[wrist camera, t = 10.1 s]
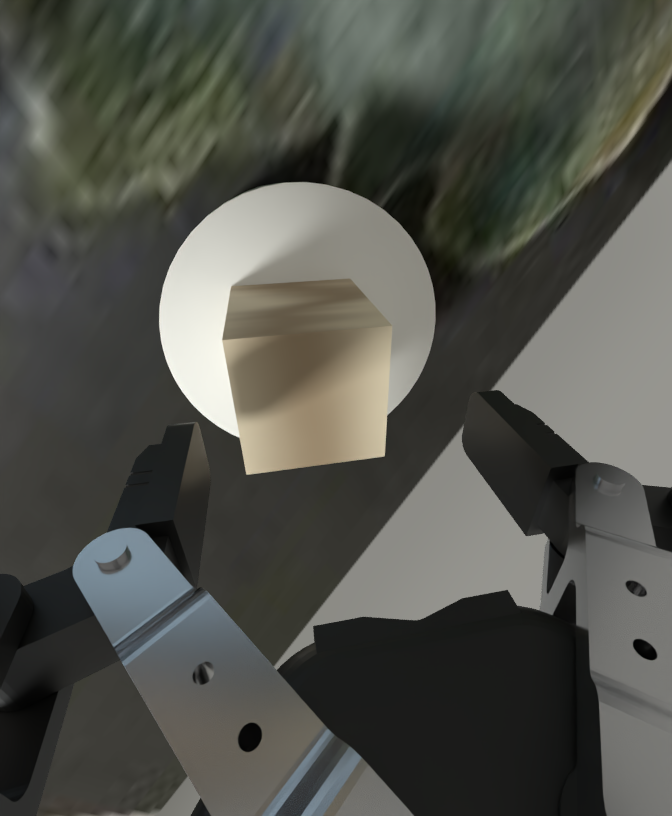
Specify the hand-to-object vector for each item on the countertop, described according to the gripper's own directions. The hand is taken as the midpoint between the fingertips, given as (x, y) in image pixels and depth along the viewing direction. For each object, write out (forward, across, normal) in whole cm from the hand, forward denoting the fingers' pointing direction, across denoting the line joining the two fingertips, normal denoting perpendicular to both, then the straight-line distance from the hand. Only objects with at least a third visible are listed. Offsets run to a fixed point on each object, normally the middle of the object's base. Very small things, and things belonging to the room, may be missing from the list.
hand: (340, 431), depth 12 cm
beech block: (+8, +1, 0) cm, 8 cm away
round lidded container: (+14, 0, 0) cm, 15 cm away
